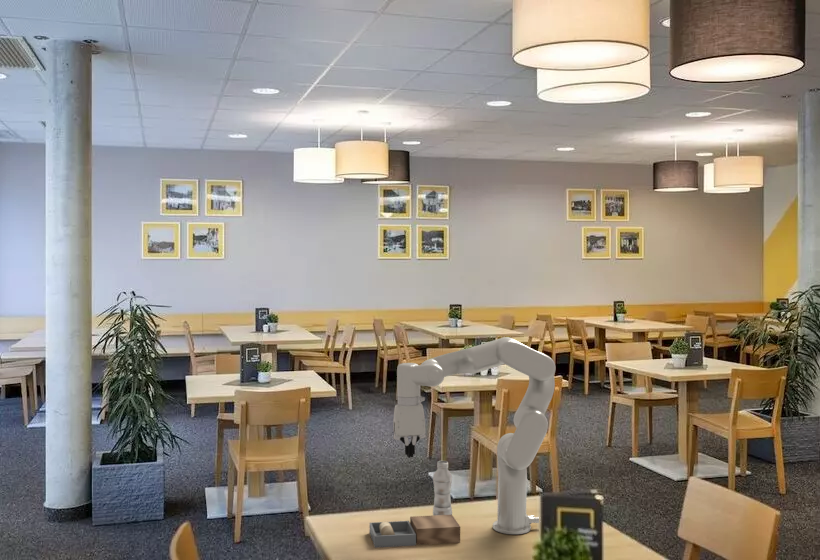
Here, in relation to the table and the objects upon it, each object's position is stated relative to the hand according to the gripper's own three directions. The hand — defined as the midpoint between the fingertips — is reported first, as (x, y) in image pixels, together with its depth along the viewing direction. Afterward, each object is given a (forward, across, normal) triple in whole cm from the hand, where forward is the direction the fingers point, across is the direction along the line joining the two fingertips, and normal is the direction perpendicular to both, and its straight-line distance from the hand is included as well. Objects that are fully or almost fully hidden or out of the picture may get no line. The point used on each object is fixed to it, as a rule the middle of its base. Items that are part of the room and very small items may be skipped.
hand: (409, 456), depth 269 cm
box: (+24, +8, +7) cm, 27 cm away
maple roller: (+21, +8, +7) cm, 23 cm away
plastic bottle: (+25, -13, -9) cm, 30 cm away
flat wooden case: (+25, -6, +7) cm, 27 cm away
